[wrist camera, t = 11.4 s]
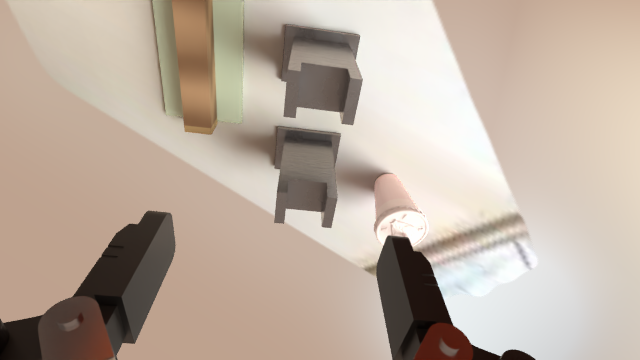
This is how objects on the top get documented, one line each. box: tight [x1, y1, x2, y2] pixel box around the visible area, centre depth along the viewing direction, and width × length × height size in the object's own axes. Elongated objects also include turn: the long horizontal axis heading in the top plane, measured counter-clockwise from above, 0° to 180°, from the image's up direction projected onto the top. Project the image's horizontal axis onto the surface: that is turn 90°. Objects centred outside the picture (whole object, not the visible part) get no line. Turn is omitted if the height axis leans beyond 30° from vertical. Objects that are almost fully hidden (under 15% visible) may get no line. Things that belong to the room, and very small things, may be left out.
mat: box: [152, 0, 244, 124], centre depth 37 cm, size 16×9×1 cm, turn 172°
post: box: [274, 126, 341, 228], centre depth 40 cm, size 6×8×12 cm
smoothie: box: [374, 174, 429, 246], centre depth 43 cm, size 6×6×14 cm
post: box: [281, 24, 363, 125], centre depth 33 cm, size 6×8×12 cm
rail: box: [172, 0, 217, 134], centre depth 36 cm, size 17×3×3 cm, turn 172°
